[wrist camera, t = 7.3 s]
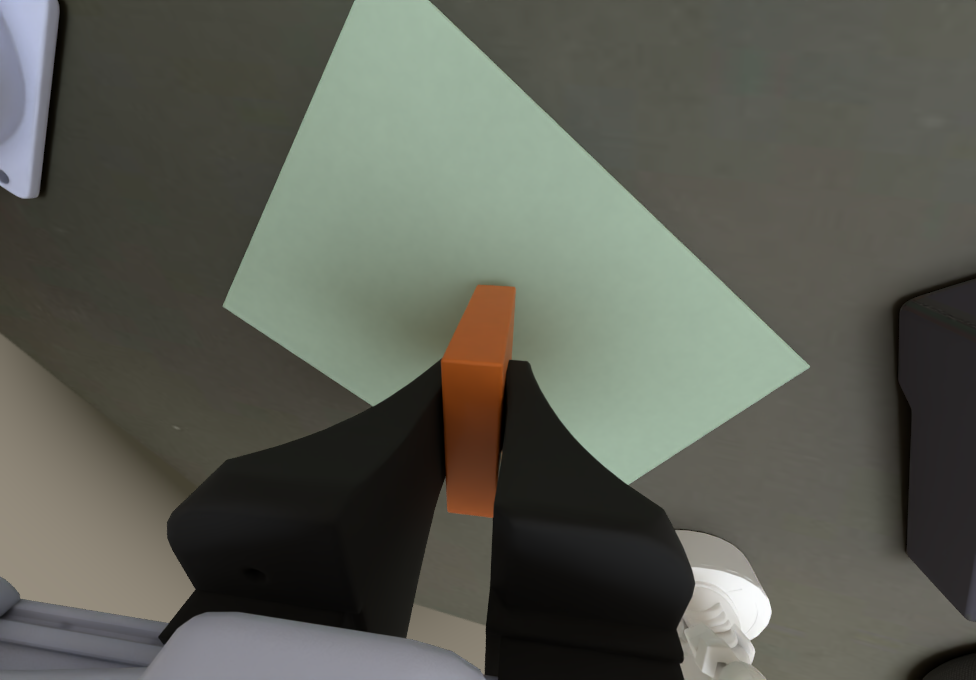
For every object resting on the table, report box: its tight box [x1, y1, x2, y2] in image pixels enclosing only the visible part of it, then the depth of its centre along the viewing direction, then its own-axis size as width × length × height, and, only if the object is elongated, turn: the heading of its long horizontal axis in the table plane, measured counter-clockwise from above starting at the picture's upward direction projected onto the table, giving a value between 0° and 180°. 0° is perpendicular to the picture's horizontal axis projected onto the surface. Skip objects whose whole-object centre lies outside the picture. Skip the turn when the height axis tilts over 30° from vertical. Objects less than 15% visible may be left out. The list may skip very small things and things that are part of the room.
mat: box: [223, 0, 810, 485], centre depth 15 cm, size 20×14×1 cm
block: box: [441, 285, 516, 518], centre depth 11 cm, size 1×5×6 cm, turn 179°
